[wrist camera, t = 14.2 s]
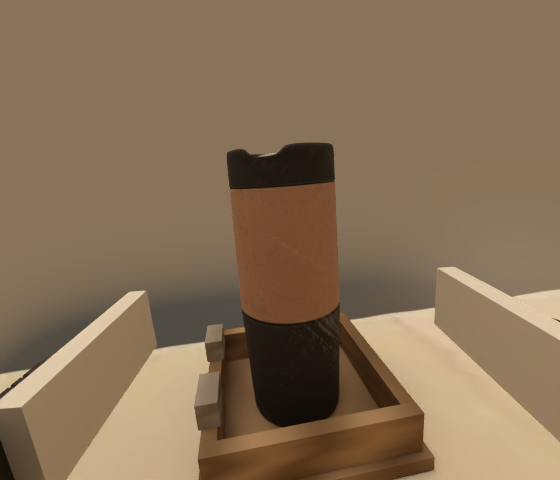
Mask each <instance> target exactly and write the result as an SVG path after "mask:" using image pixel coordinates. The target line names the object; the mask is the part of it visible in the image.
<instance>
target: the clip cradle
mask: <svg viewBox="0 0 560 480" xmlns="http://www.w3.org/2000/svg"><path fill="white" fill-rule="evenodd" d="M205 348H206V354H207V361H208V362H210V366H209V373H206V374H200V376H199V382H198V388H197V394H196V400H195V405H194V408H195V414H196V420H197V426H198V430H201V438H200V446H199V455H198V463H199V469H200V473H199V480H391V479H395V478H399V477H403V476H408V475H412V474H416V473H420V472H425V471H429V470H433V469H434V456H433V454H432V453H431V452H430V450H429V449H428V447H427V446H426V445H425V443H424V442H423V429H424V413H423V411H422V410H421V409H420V408H419V406H418V405H417V404H416V403H415V401H414V400H413V399H412V398H411V396H410V395H409V394H408V393H407V391H406V390H405V389H404V388H403V386H402V385H401V384H400V383H399V381H398V380H397V379H396V378H395V376H394V375H393V374H392V373H391V371H390V370H389V369H388V368H387V366H386V365H385V364H384V363H383V361H382V360H381V359H380V358H379V356H378V355H377V354H376V353H375V351H374V350H373V349H372V348H371V346H370V345H369V344H368V343H367V341H366V340H365V339H364V338H363V336H362V335H361V334H360V333H359V331H358V330H357V329H356V328H355V326H354V325H353V324H352V323H351V321H350V320H349V319H348V318H347V316H346V315H345V314H344V313H340V347H339V399H338V403H337V406H336V408H335V410H334V412H333V413H332V414H331V415H330V416H329V417H328V418H327V419H324V420H319V421H314V422H309V423H303V424H298V425H293V426H288V427H282V426H279V425H276V424H274V423H272V422H270V421H269V420H267V419H266V418H265V417H264V416H263V415H262V414H261V412H260V411H259V409H258V407H257V404H256V401H255V395H254V389H253V382H252V375H251V369H250V362H249V355H248V348H247V341H246V334H245V327H242V328H235V329H228V330H223V324H217V325H211V326H208V328H207V334H206V340H205Z"/></svg>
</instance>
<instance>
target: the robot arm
mask: <svg viewBox="0 0 560 480" xmlns="http://www.w3.org/2000/svg"><path fill="white" fill-rule="evenodd" d="M434 324H435V325H436V326H438V327H439V328H440V329H441V330H442V331H443V332H444V333H445V334H446V335H447V336H448V337H449V338H450V339H451V340H452V341H453V342H455V343H456V344H457V345H458V346H459V347H460V348H461V349H462V350H463V351H464V352H465V353H466V354H467V355H468V356H469V357H470V358H471V359H473V360H474V361H475V362H476V363H477V364H478V365H479V366H480V367H481V368H482V369H483V370H484V371H485V372H486V373H487V374H488V375H489V376H491V377H492V378H493V379H494V380H495V381H496V382H497V383H498V384H499V385H500V386H501V387H502V388H503V389H504V390H505V391H506V392H508V393H509V394H510V395H511V396H512V397H513V398H514V399H515V400H516V401H517V402H518V403H519V404H520V405H521V406H522V407H523V408H524V409H526V410H527V411H528V412H529V413H530V414H531V415H532V416H533V417H534V418H535V419H536V420H537V421H538V422H539V423H540V424H541V425H542V426H544V427H545V428H546V429H547V430H548V431H549V432H550V433H551V434H552V435H553V436H554V437H555V438H556V439H557V440H558V441H559V442H560V320H557V319H554V318H551V317H549V316H547V315H545V314H543V313H541V312H539V311H537V310H535V309H534V308H532V307H530V306H528V305H526V304H524V303H522V302H520V301H518V300H516V299H514V298H513V297H511V296H509V295H507V294H505V293H503V292H501V291H499V290H497V289H495V288H494V287H492V286H490V285H488V284H486V283H484V282H482V281H480V280H478V279H476V278H474V277H473V276H470V275H469V274H467V273H465V272H463V271H461V270H459V269H457V268H455V267H446V268H437V283H436V304H435V322H434ZM156 346H157V344H156V338H155V334H154V328H153V323H152V318H151V312H150V307H149V303H148V297H147V292H146V291H136V292H129V293H128V294H126V295H125V296H124V297H123V298H121V299H120V300H119V301H118V302H117V303H115V304H114V305H113V306H112V307H111V308H109V309H108V310H107V311H106V312H105V313H104V314H102V315H101V316H100V317H99V318H97V319H96V320H95V321H94V322H93V323H91V324H90V325H89V326H88V327H87V328H85V329H84V330H83V331H82V332H81V333H79V334H78V335H77V336H76V337H75V338H74V339H72V340H71V341H70V342H68V343H67V344H66V345H65V346H64V347H63V348H61V349H60V350H59V351H58V352H56V353H55V354H54V355H52V356H51V357H49V358H47V359H45V360H43V361H42V362H40V363H38V364H37V365H35V366H34V367H33V368H32V369H30V370H29V371H28V372H27V373H26V374H24V375H23V378H19V379H18V380H17V381H16V382H14V383H13V384H12V385H11V387H10V388H7V389H6V390H5V391H3V392H2V393H1V394H0V480H66V479H67V478H68V476H69V475H70V473H71V472H72V470H73V469H74V467H75V466H76V464H77V463H78V461H79V460H80V458H81V457H82V455H83V454H84V452H85V451H86V449H87V448H88V446H89V445H90V443H91V442H92V440H93V439H94V438H95V436H96V435H97V433H98V432H99V430H100V429H101V427H102V426H103V424H104V423H105V421H106V420H107V418H108V417H109V415H110V414H111V412H112V411H113V409H114V408H115V406H116V405H117V403H118V402H119V400H120V399H121V398H122V396H123V395H124V393H125V392H126V390H127V389H128V387H129V386H130V384H131V383H132V381H133V380H134V378H135V377H136V375H137V374H138V372H139V371H140V369H141V368H142V366H143V365H144V363H145V362H146V361H147V359H148V358H149V356H150V355H151V353H152V352H153V350H154V349H155V347H156Z"/></svg>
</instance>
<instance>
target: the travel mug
mask: <svg viewBox="0 0 560 480" xmlns="http://www.w3.org/2000/svg"><path fill="white" fill-rule="evenodd" d="M227 166H228V176H229V186H230V196H231V205H232V215H233V225H234V236H235V245H236V256H237V266H238V276H239V286H240V295H241V306H242V313H243V320H244V327H245V334H246V341H247V348H248V355H249V362H250V369H251V375H252V382H253V389H254V395H255V401H256V404H257V407H258V409H259V411H260V412H261V414H262V415H263V416H264V417H265V418H266V419H267V420H269V421H270V422H272V423H274V424H276V425H279V426H282V427H288V426H293V425H298V424H303V423H309V422H314V421H319V420H324V419H327V418H328V417H329V416H330V415H331V414H332V413H333V412H334V410H335V408H336V406H337V403H338V399H339V347H340V302H339V300H340V297H339V272H338V248H337V224H336V198H335V181H334V180H335V174H334V151H333V146H332V145H331V144H329V143H294V144H289V145H286V146H284V147H283V148H282V149H281V150H280V151H279V152H278V153H272V154H259V155H258V154H257V155H256V154H254V155H250V154H249V153H248V152H247V151H245V150H243V149H236V150H232V151H229V152H228V153H227Z"/></svg>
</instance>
